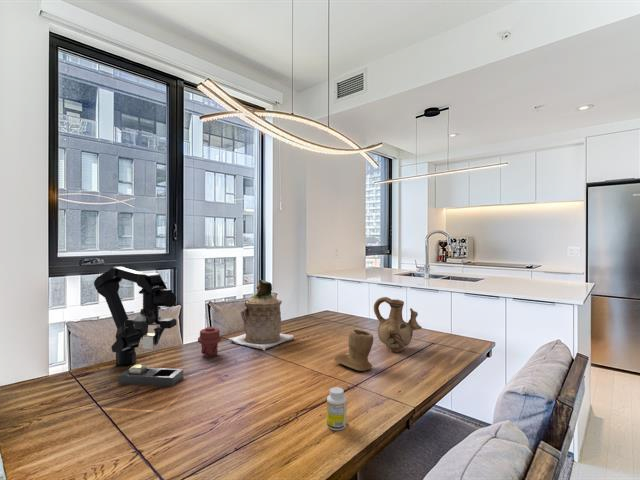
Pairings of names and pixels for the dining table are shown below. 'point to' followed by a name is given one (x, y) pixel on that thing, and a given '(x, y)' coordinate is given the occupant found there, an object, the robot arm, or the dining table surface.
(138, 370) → the beige block
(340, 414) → the supplement bottle
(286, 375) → the dining table surface
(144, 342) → the cream two-tone block
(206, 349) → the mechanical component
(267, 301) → the cookie jar
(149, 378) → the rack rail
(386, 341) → the ceramic vessel
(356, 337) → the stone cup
